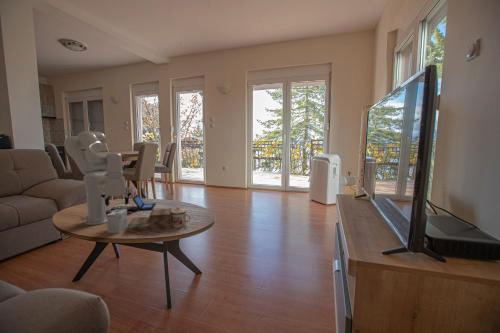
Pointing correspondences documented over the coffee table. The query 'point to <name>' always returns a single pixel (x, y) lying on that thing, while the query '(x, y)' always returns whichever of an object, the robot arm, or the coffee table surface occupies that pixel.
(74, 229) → the coffee table surface
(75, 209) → the coffee table surface
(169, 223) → the step stand
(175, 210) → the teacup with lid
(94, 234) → the coffee table surface
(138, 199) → the handheld game console
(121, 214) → the light bulb box
